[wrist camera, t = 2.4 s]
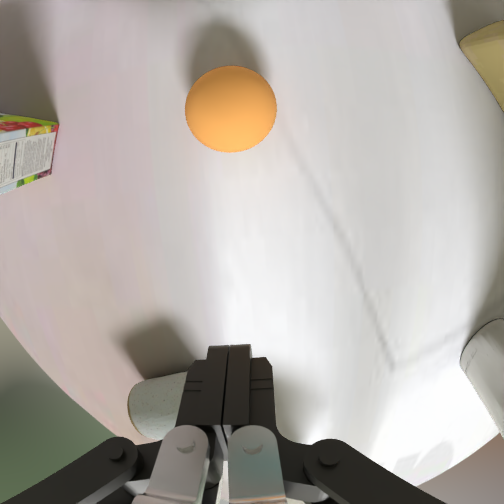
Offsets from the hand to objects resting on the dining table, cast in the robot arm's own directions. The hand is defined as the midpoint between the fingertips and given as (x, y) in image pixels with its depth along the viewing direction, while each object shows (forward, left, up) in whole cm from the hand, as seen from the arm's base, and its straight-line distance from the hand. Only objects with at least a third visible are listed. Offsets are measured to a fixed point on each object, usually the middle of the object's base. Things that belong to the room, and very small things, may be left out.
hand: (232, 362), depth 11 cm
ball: (0, -9, -12) cm, 15 cm away
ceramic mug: (+9, +19, -16) cm, 26 cm away
